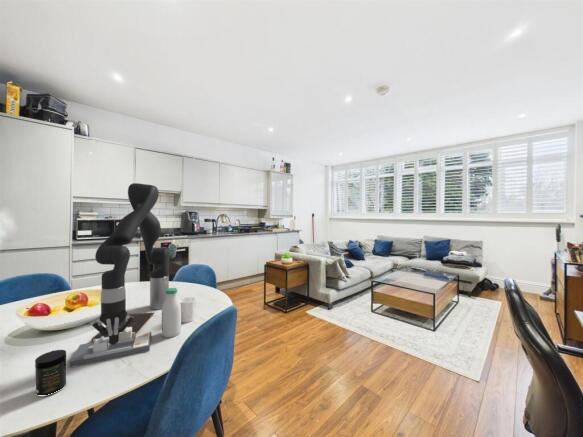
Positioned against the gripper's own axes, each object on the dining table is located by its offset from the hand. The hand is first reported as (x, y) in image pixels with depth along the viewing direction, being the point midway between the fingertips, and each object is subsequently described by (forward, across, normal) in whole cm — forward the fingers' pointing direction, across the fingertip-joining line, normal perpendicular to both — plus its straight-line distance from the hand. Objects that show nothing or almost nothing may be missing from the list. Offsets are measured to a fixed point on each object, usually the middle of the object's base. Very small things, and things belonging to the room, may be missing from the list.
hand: (113, 343), depth 92 cm
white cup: (+4, -27, -20) cm, 34 cm away
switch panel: (+4, 0, -3) cm, 5 cm away
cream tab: (+2, -3, -6) cm, 7 cm away
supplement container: (+4, +13, +14) cm, 20 cm away
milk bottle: (+4, -20, -8) cm, 22 cm away
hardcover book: (+5, -1, -23) cm, 23 cm away
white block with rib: (+2, +4, 0) cm, 4 cm away
